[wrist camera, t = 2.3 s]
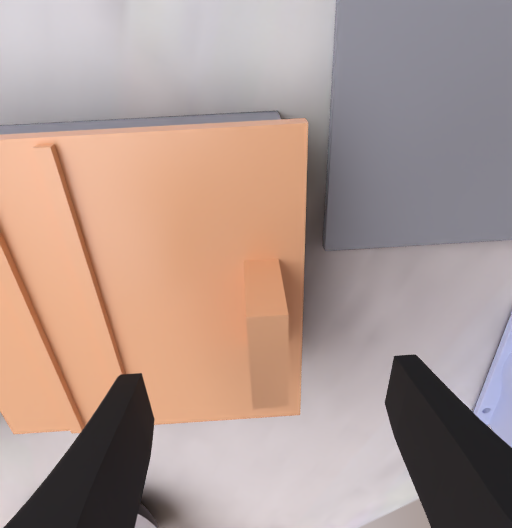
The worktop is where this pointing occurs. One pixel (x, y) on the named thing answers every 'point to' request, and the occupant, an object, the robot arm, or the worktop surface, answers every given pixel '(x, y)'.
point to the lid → (152, 271)
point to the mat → (419, 124)
